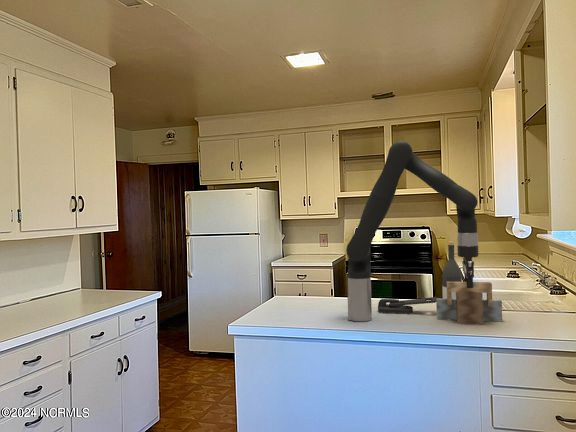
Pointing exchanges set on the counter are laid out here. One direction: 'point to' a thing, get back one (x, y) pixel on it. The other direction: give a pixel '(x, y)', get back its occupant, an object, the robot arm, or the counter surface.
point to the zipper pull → (401, 305)
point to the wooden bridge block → (469, 289)
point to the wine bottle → (450, 271)
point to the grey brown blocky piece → (469, 309)
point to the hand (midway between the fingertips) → (468, 286)
